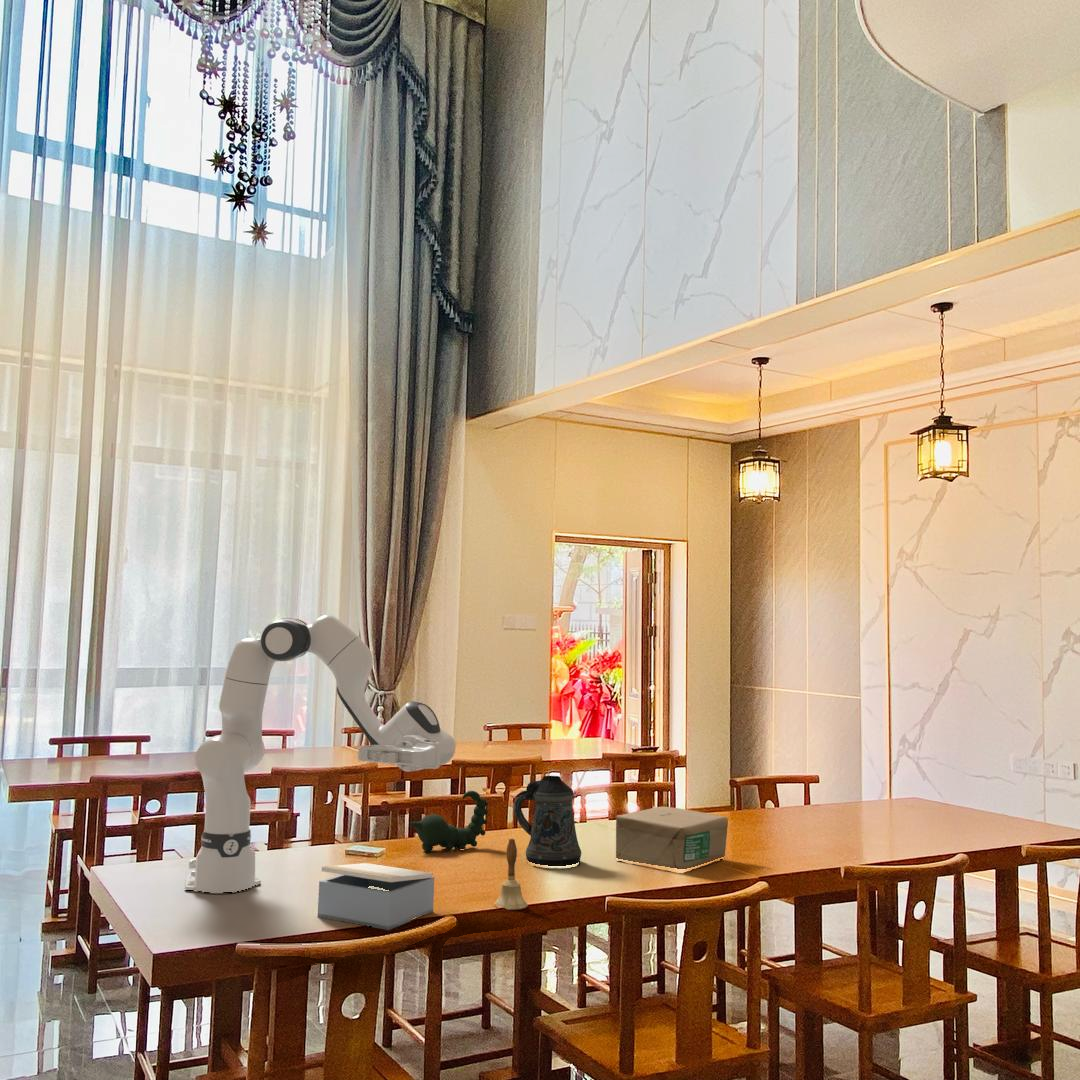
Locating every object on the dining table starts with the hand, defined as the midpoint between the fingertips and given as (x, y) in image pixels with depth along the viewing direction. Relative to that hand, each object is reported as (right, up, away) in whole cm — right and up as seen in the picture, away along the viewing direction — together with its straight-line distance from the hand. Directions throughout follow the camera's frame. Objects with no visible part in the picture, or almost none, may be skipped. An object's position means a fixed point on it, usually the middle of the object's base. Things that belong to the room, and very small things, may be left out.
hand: (377, 758), depth 240 cm
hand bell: (+32, -38, +7) cm, 50 cm away
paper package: (+78, -45, +64) cm, 111 cm away
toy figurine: (+10, -44, +71) cm, 84 cm away
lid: (+1, -27, -3) cm, 27 cm away
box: (0, -36, -4) cm, 36 cm away
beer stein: (+41, -43, +56) cm, 82 cm away
